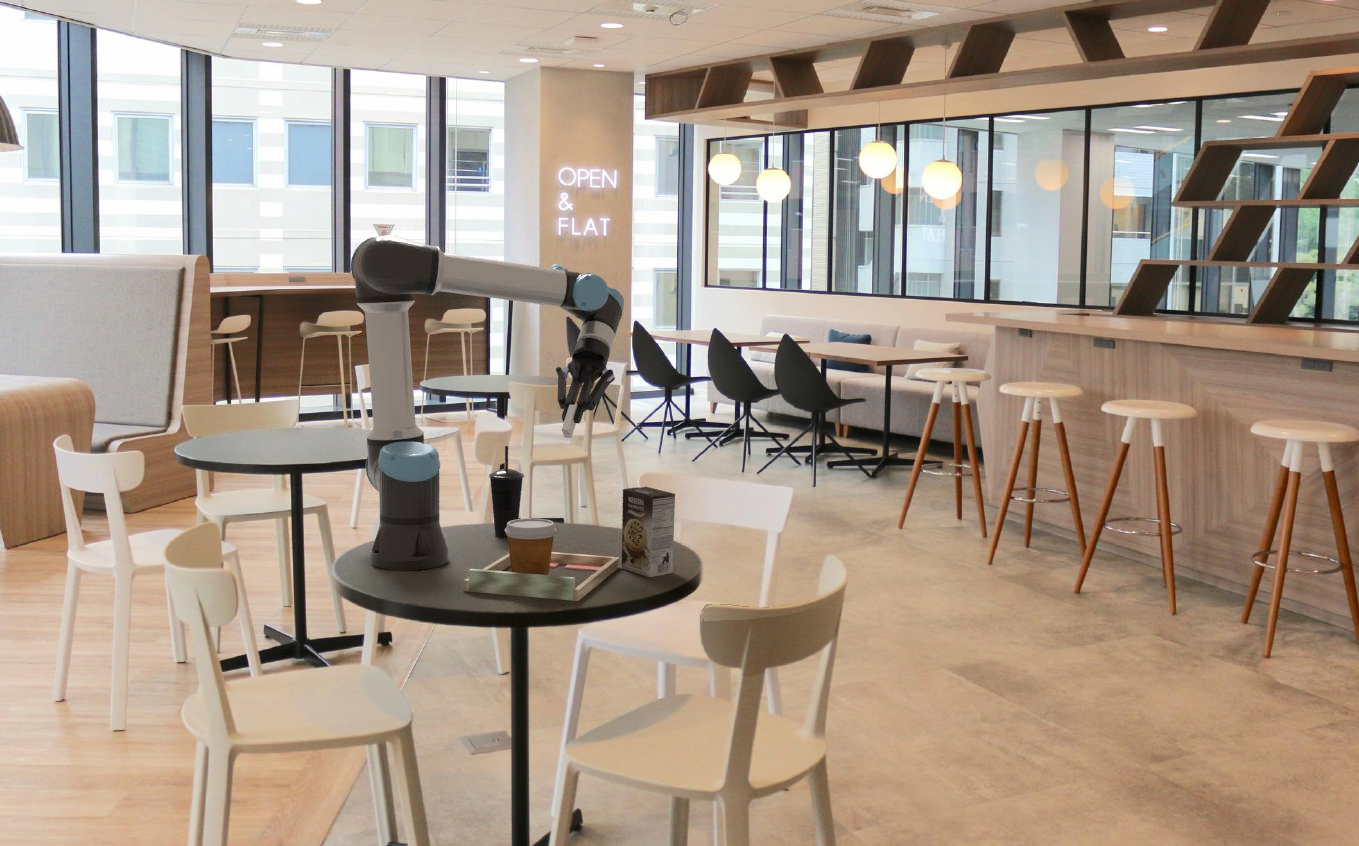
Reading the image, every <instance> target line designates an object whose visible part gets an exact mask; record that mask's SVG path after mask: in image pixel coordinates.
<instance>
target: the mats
mask: <svg viewBox="0 0 1359 846" xmlns="http://www.w3.org/2000/svg"><path fill="white" fill-rule="evenodd" d="M560 565H562V564H561V562H551V561H550V567H549V568H553V569H554V568H557V567H558V566H560ZM601 567H603V566H601V565H588V564H576V563H569V564H566V565H565V566H564V569H565V570H577V571H587V572H588V571H590V572H592V571H593V572H596V571H598V570H599V569H600V568H601Z"/></svg>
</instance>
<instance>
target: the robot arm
mask: <svg viewBox="0 0 1359 846" xmlns="http://www.w3.org/2000/svg"><path fill="white" fill-rule="evenodd" d="M356 247H357V248H356V249H355V250H354V252H353V255H352V256H351V260H350V273H351V274H352V278H353V279H354V282H355V283H354V286H355V296H356V297H355V298H356V305H357V306H358V307H359V308H360V309H361V310H362V311H363V312H364V313H365V314H364V317H365V328H366V329H365V331H366V343H367V355H368V356H367V357H368V370H369V384H370V386H369V387H370V398H371V408H372V409H371V412H372V425H373V427H372V429H371V430H370V432H368V433H367V434H366V445H367V458H366V459H365V460H366V461H365V473H366V477H367V479H368V481H369V482H370V485H371V486H372V487H373V488H374V489H375V490H376V491H378V492H379V527H378V529H377V533H376V535H375V539H374V541H373V545H372V548H371V552H370V563H371V565H372V566H374V567H377V568H380V569H383V570H390V571H391V570H393V571H417V570H428V569H432V568H437V567H438V568H439V567H441V566H443V565H445V564H447V563H448V562H449V547H448V544H447V542H446V538H445V536H444V532H443V529H442V527H441V523H440V470H441V469H440V468H441V461H440V455H439V451H438V449H437V448H436V447H435V446H433V445H431V444H428V443H425V436H424V435H425V434H424V431H423V430H422V429H421V428H420V427H418V426H417V424H416V411H415V410H416V409H415V397H414V396H415V395H414V381H413V379H414V378H413V367H412V363H413V362H412V353H411V337H410V321H409V319H410V318H409V309H410V308H412V306H413V305H414V303H415V302H416V299H415V297H416V296H415V294H418V295H420V294H421V295H426V296H427V295H428V296H434V295H435V294H436V293H437V292H445V293H451V294H452V293H453V294H459V295H468V296H475V297H481V298H483V297H484V298H490V299H496V300H504V301H505V300H506V301H514V302H521V303H522V302H523V303H528V304H534V305H535V304H537V305H544V306H551V307H552V306H553V307H559V308H561V309H563V310H564V311H565V312H567V313H569V314H570V315H572V316H574V317H575V318H576V319H578V320H580V321H581V322H582V324H581V329H580V332H579V334H578V338H577V341H576V344H575V348H574V350H573V353H572V357H571V360H570V361H569V362H568V363H567V366H565V367H563V368H562V367H560V366H557V367H556V368H555V372H556V375H557V377H558V378H557V403H558V405H559V408H560V410H562V414H561V420H562V422H563V423H562V424H563V425H562V427H561V431H562V434H563V436H564V438H566V439H572V438H573V434H574V431H575V428H576V424H580V423H581V422H582V420H583V419H582V418H583V415H584V413H585V412H586V411H590V412H591V411H592V412H593V410H595V408H596V407H597V406H598V403H599V401H600V400H601V398H602V396H603V395H604V393H605V392H606V390H607V388H608V387H609V385H611V383H613V382H614V381H615V380H616V377H615V374H614V371H613V369H607V368H608V367H607V364H608V361H609V358H610V354H611V350H612V348H613V345H614V341H615V337H616V333H617V330H618V328H619V326H620V325H619V324H620V322H621V319H622V317H623V313H624V312H623V311H624V306H625V301H624V300H625V299H624V297H623V295H622V294H621V292H620V291H619V290H617V289H616V288H614V287H612V288H611V287H609V286H608V285H607V282H606V281H605V280H604V278H602V276H599V275H597V274H595V273H591V272H586V273H583V272H576V271H570V270H568V269H567V268H564V267H562V266H561V265H560V264H556V263H555V264H552V265H551V266H550V267H544V266H543V267H542V266H535V265H530V264H525V263H524V264H522V263H516V262H508V261H503V260H498V259H497V260H496V259H489V258H482V257H474V256H469V255H461V254H454V253H448V252H443V251H442V250H441V249H440V247H439V246H438V245H431V244H429V245H428V244H425V243H424V244H423V243H420V242H416V241H413V240H409V239H406V238H403V237H399V236H396V235H389V234H387V235H378V236H372V237H370V238H367V239H365V240H364V241H362V242H361V243H360V244H359V245H358V246H356ZM569 374H570V375H571V378H572V379H571V380H572V381H571V382H570V386H569V389H568V393H567V380H566V379H568V377H569ZM597 380H598V381H597ZM596 381H597V382H596ZM595 382H596V384H595ZM576 404H577V405H576Z"/></svg>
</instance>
